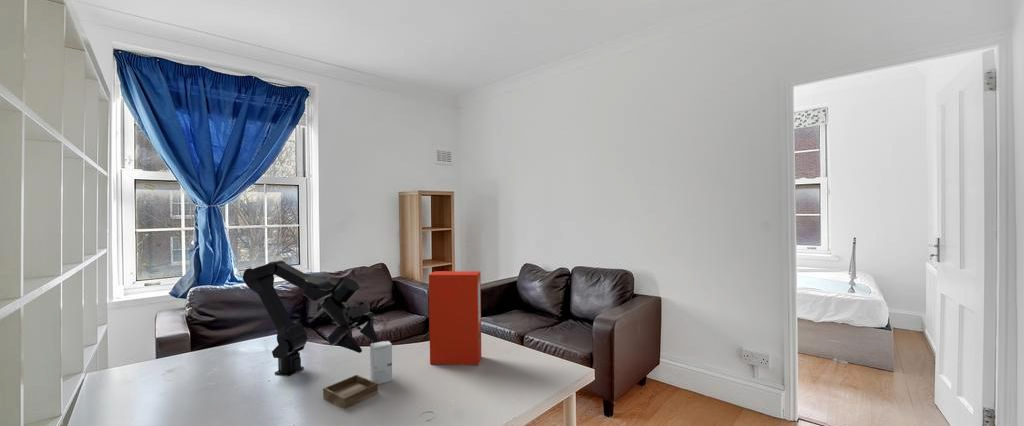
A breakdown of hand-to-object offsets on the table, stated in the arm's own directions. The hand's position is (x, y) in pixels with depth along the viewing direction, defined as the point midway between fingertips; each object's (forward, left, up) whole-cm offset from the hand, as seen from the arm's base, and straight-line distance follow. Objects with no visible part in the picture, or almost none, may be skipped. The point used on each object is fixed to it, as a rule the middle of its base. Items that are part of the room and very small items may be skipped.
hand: (369, 346), depth 128 cm
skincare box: (+4, 0, -11) cm, 12 cm away
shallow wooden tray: (+1, -11, -11) cm, 15 cm away
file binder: (+21, +21, -11) cm, 32 cm away
